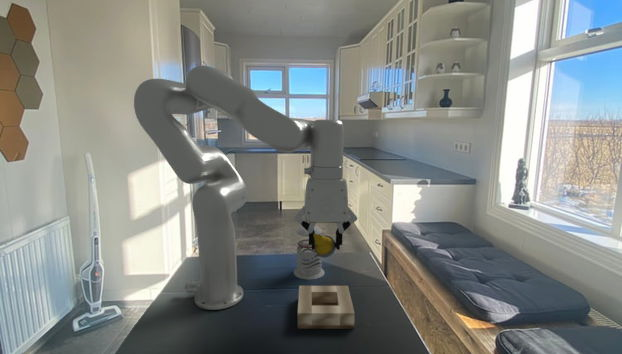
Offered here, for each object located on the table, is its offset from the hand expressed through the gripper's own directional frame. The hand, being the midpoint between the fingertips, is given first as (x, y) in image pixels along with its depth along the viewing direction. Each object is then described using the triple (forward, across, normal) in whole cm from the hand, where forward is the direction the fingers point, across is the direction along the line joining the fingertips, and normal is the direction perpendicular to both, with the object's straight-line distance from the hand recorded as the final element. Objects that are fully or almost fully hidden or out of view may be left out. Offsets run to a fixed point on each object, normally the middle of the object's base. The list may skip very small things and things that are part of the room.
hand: (325, 246), depth 80 cm
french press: (+17, -3, +23) cm, 29 cm away
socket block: (+17, 0, 0) cm, 17 cm away
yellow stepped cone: (+3, 0, 0) cm, 3 cm away
